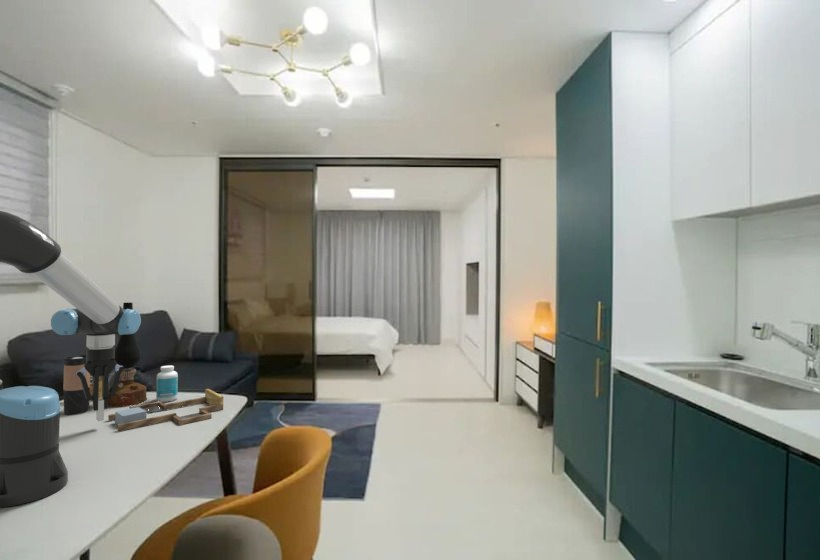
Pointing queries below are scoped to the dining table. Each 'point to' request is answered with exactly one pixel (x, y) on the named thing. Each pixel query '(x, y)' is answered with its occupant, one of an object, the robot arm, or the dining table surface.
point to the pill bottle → (167, 384)
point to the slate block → (129, 415)
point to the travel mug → (74, 386)
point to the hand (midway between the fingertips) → (100, 419)
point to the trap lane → (203, 414)
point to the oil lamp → (127, 371)
